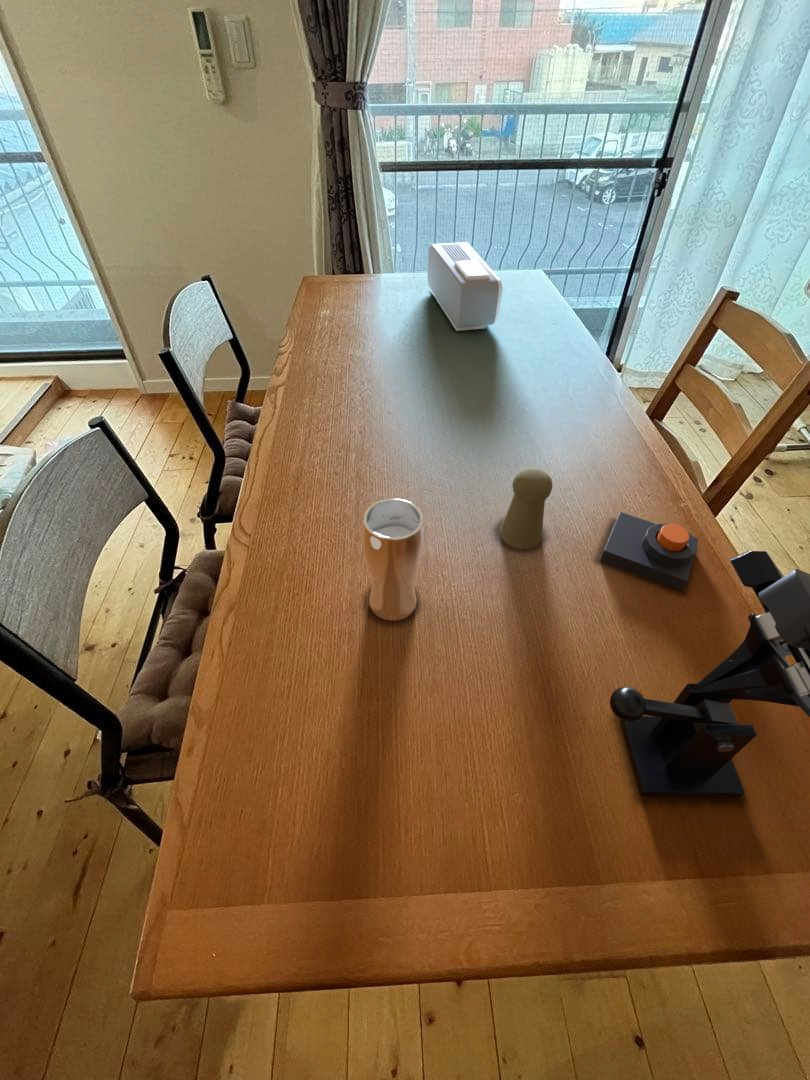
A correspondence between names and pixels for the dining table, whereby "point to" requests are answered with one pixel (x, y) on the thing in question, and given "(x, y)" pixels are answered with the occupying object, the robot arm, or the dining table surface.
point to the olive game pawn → (526, 509)
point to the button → (673, 537)
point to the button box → (648, 552)
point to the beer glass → (393, 556)
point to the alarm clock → (464, 285)
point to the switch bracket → (686, 753)
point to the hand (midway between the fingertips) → (698, 691)
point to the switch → (669, 709)
